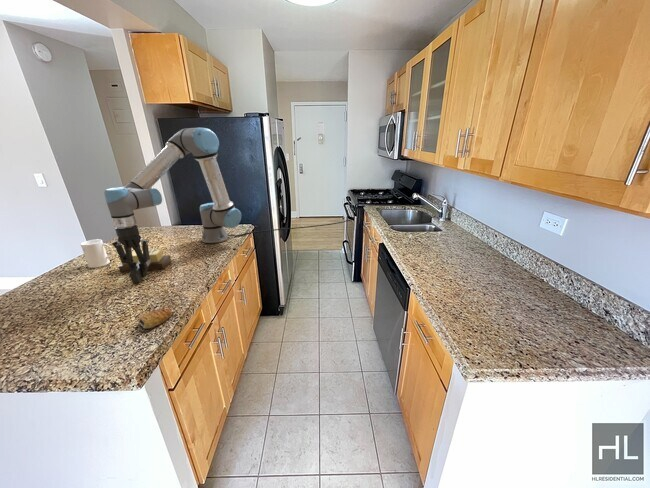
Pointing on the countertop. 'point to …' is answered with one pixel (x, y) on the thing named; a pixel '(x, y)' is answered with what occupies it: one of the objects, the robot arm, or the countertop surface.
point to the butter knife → (136, 272)
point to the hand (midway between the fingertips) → (140, 276)
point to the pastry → (154, 318)
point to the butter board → (152, 265)
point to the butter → (135, 258)
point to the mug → (95, 253)
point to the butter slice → (156, 256)
